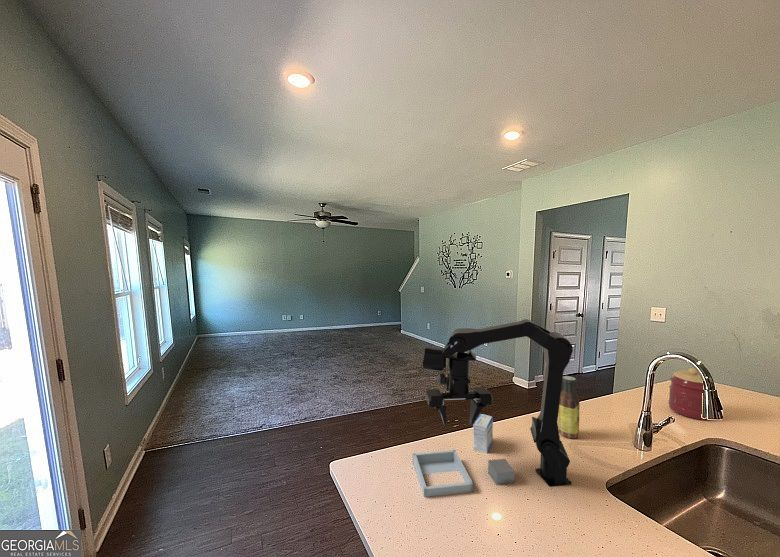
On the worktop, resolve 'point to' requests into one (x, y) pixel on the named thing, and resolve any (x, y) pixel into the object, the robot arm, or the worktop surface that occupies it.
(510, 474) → the block
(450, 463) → the tray
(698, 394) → the canister
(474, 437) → the medicine box
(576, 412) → the sauce bottle
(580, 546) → the worktop surface
